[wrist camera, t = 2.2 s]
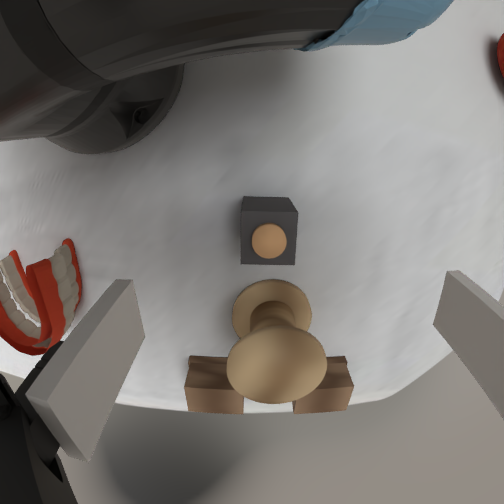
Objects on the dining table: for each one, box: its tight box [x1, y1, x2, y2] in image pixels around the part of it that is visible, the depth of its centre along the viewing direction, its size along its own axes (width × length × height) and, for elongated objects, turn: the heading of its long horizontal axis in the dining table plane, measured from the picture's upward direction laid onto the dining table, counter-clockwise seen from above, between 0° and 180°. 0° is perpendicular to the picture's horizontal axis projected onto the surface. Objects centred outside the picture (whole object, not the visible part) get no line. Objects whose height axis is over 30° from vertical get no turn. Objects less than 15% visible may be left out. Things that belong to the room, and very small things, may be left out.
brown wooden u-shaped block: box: [184, 356, 354, 414], centre depth 31 cm, size 18×4×5 cm, turn 89°
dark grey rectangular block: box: [241, 196, 298, 265], centre depth 24 cm, size 4×4×7 cm
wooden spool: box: [227, 279, 327, 404], centre depth 27 cm, size 8×8×9 cm
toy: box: [0, 239, 82, 356], centre depth 26 cm, size 13×10×8 cm
